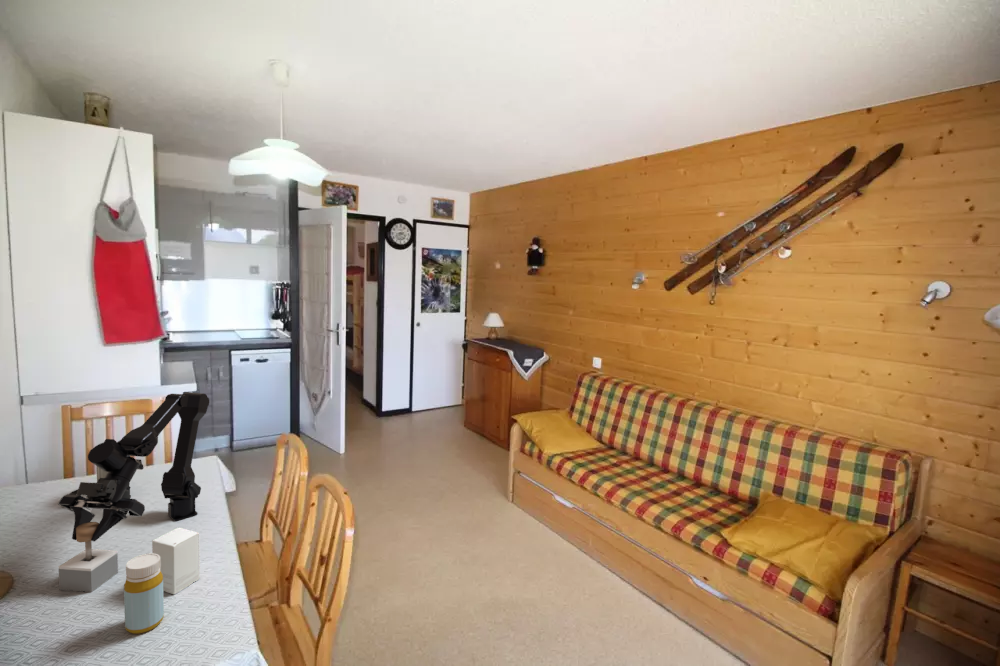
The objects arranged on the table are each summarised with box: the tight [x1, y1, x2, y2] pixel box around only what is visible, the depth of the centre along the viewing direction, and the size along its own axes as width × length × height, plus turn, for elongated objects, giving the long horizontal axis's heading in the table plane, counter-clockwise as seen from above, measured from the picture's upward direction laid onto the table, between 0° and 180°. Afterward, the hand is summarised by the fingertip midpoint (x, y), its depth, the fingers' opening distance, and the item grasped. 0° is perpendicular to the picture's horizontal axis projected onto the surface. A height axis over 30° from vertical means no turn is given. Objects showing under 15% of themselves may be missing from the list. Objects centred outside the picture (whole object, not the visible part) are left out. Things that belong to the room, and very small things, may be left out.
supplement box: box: [151, 527, 201, 595], centre depth 124 cm, size 7×7×13 cm
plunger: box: [75, 521, 100, 561], centre depth 123 cm, size 4×4×9 cm
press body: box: [58, 548, 119, 593], centre depth 124 cm, size 8×8×6 cm
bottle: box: [123, 553, 165, 635], centre depth 110 cm, size 7×7×15 cm
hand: (83, 540), depth 121 cm, fingers closed on plunger, 4 cm apart
